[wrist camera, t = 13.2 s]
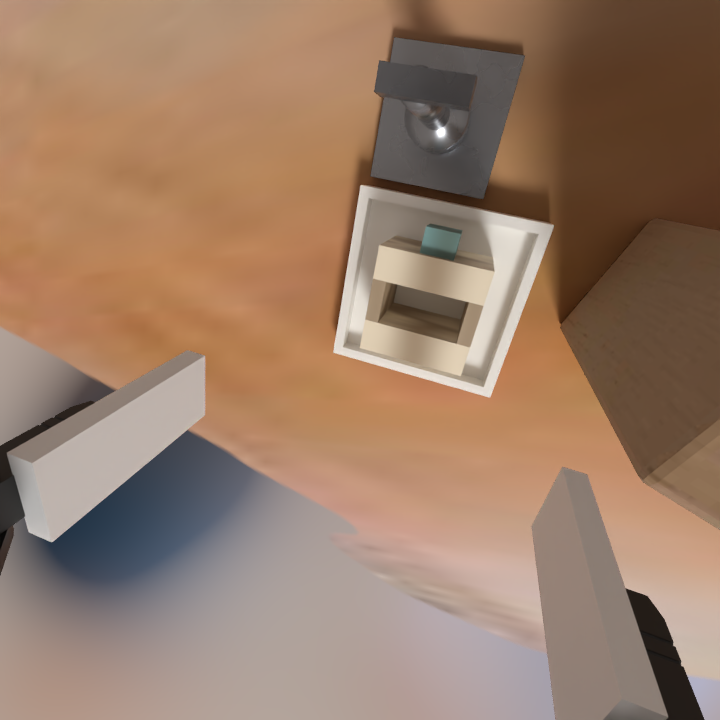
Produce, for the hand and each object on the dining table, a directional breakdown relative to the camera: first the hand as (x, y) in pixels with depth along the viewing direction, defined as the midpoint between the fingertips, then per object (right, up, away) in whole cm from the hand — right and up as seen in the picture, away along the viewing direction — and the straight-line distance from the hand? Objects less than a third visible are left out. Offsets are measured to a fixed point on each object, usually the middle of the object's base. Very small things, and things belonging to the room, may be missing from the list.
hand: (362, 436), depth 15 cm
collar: (+6, +8, +20) cm, 23 cm away
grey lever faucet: (+6, +21, +16) cm, 26 cm away
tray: (+6, +9, +21) cm, 23 cm away
